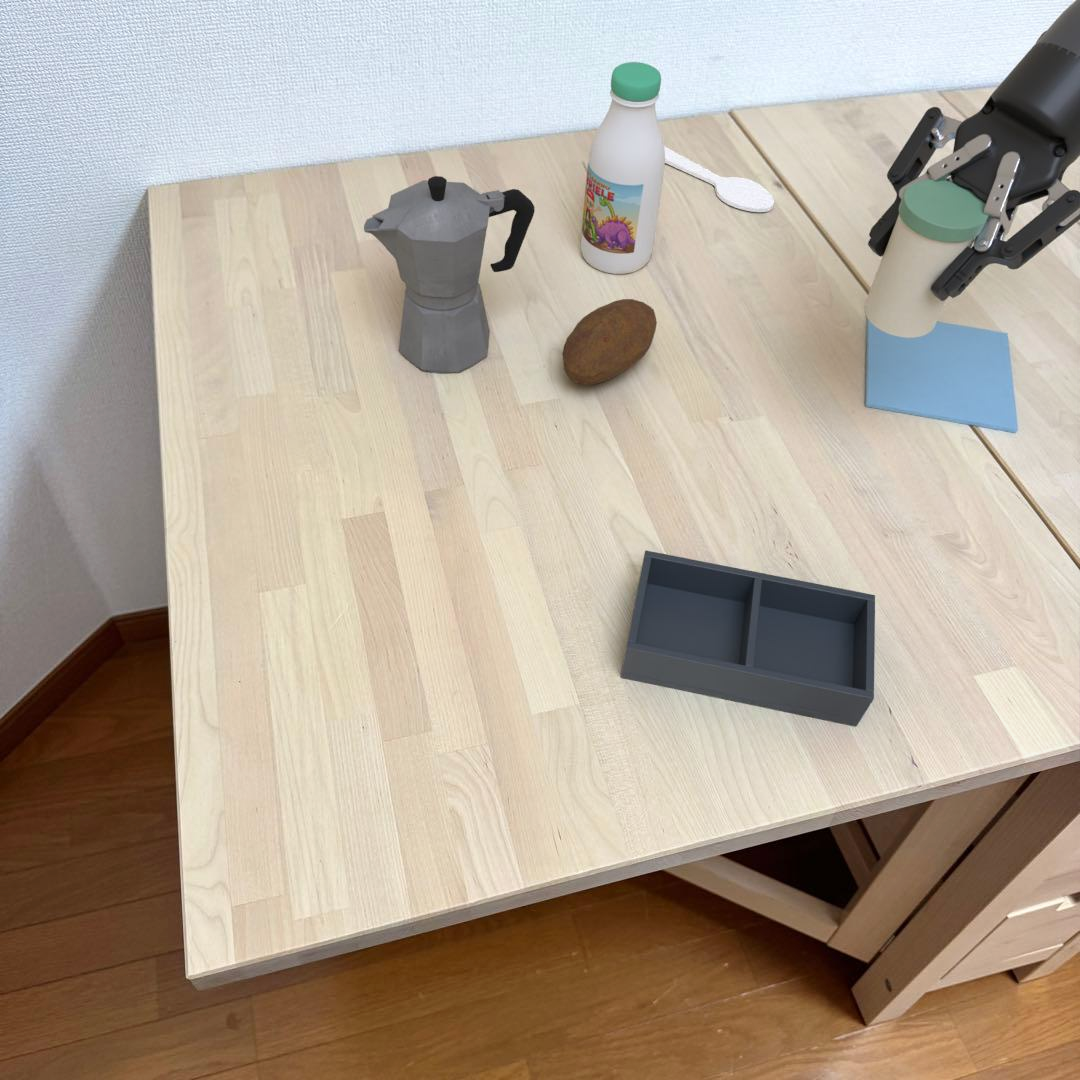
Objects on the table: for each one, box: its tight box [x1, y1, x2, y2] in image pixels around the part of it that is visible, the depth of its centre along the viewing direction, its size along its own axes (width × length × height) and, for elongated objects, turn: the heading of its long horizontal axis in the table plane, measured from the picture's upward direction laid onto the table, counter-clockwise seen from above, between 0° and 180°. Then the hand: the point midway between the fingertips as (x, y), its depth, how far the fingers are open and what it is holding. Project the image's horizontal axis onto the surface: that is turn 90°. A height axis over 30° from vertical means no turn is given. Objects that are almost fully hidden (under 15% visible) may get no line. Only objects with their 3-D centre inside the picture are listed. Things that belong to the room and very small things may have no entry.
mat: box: [865, 317, 1019, 434], centre depth 98 cm, size 14×14×1 cm
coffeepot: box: [363, 175, 536, 374], centre depth 91 cm, size 15×9×18 cm, turn 110°
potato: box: [561, 298, 658, 386], centre depth 94 cm, size 7×12×7 cm, turn 143°
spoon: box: [664, 145, 775, 213], centre depth 117 cm, size 5×18×1 cm, turn 48°
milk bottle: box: [580, 61, 666, 275], centre depth 100 cm, size 8×8×20 cm
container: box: [863, 180, 988, 338], centre depth 75 cm, size 6×6×10 cm
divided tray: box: [620, 550, 876, 727], centre depth 76 cm, size 9×18×4 cm, turn 78°
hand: (904, 271), depth 74 cm, fingers closed on container, 5 cm apart
